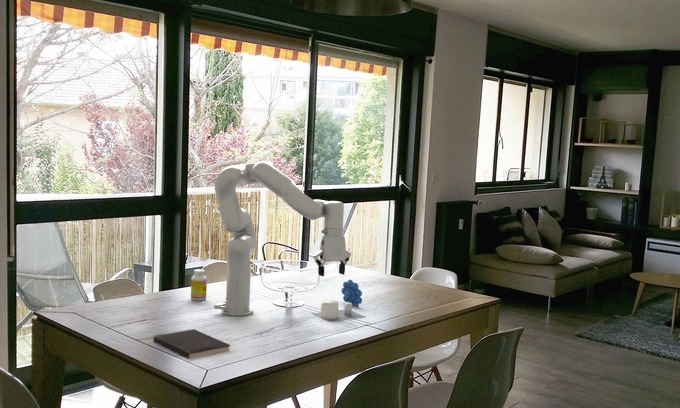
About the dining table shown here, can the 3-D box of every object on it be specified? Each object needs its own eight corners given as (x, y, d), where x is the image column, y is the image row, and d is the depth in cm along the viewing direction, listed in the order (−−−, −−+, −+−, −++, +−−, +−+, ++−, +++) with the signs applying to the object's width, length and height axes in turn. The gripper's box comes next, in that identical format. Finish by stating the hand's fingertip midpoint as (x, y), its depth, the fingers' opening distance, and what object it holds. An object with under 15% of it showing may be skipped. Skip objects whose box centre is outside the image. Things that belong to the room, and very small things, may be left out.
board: (329, 325, 264) (329, 310, 263) (310, 317, 276) (311, 302, 275) (366, 320, 274) (367, 306, 273) (347, 312, 286) (347, 298, 285)
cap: (326, 319, 268) (327, 304, 267) (318, 315, 273) (319, 300, 272) (340, 317, 271) (341, 302, 271) (331, 313, 277) (332, 299, 276)
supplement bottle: (204, 301, 293) (205, 272, 292) (189, 300, 293) (189, 271, 292) (207, 297, 299) (208, 269, 298) (192, 297, 300) (193, 268, 298)
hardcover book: (193, 335, 245) (194, 329, 244) (230, 351, 228) (230, 344, 228) (153, 342, 234) (153, 336, 233) (188, 360, 217) (188, 353, 217)
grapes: (334, 306, 296) (335, 278, 295) (344, 303, 301) (346, 277, 300) (354, 311, 288) (355, 283, 287) (364, 309, 293) (366, 281, 292)
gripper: (319, 234, 261) (318, 278, 263) (356, 232, 271) (354, 275, 272) (309, 231, 267) (308, 274, 269) (346, 230, 277) (344, 271, 279)
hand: (331, 274), depth 271 cm, fingers open, 9 cm apart
